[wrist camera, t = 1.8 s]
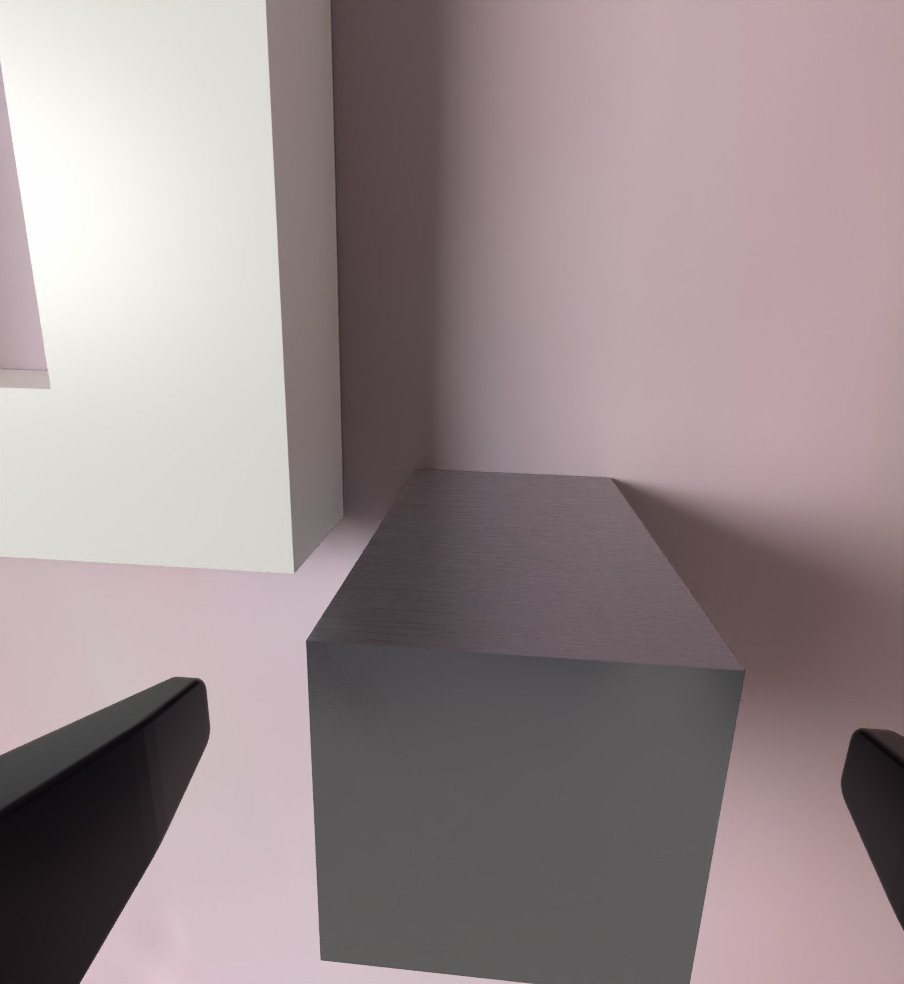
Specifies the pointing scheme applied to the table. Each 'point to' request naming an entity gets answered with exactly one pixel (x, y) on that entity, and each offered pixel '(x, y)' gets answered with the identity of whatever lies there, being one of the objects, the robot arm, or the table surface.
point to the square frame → (174, 283)
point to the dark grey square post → (517, 739)
